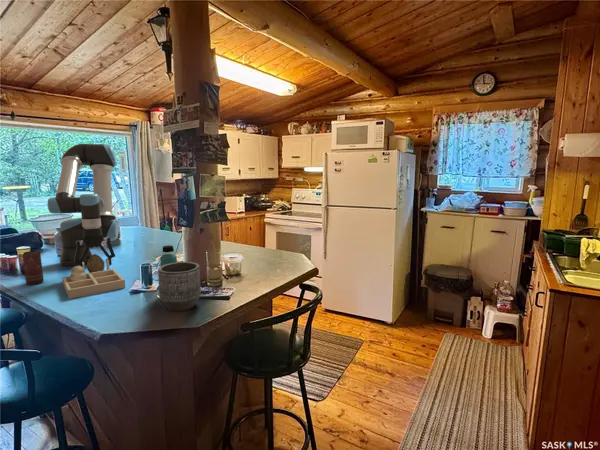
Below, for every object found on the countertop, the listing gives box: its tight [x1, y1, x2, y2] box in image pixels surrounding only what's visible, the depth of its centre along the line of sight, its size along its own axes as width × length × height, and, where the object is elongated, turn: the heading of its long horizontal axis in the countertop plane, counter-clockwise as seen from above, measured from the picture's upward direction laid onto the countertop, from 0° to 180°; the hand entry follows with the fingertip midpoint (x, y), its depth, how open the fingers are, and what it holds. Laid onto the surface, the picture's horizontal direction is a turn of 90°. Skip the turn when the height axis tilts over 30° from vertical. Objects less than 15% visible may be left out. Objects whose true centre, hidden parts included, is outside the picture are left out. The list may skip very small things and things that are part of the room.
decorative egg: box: [86, 253, 106, 273], centre depth 163 cm, size 7×7×10 cm
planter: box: [157, 261, 202, 312], centre depth 126 cm, size 14×14×15 cm
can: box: [22, 250, 44, 286], centre depth 151 cm, size 6×6×14 cm
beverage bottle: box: [159, 244, 178, 267], centre depth 137 cm, size 6×7×20 cm
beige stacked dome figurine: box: [69, 265, 87, 282], centre depth 148 cm, size 6×6×8 cm
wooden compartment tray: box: [62, 268, 126, 300], centre depth 148 cm, size 20×20×4 cm
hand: (96, 274), depth 164 cm, fingers open, 9 cm apart
